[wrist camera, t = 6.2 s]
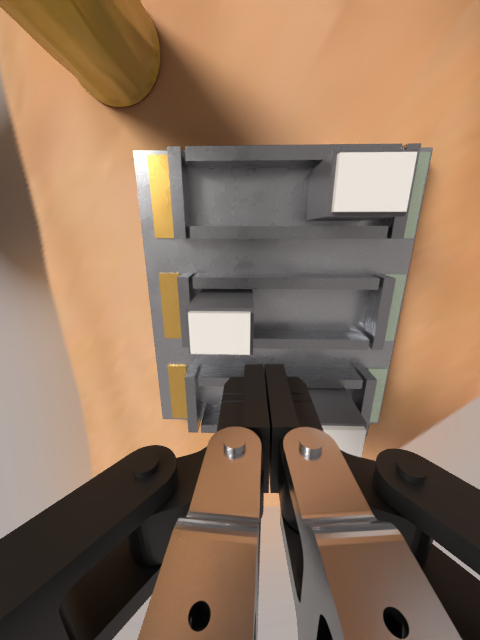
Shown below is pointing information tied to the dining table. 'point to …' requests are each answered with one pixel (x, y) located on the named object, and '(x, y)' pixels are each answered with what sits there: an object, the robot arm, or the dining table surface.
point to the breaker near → (361, 185)
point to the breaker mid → (221, 322)
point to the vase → (96, 43)
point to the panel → (270, 271)
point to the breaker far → (340, 418)
